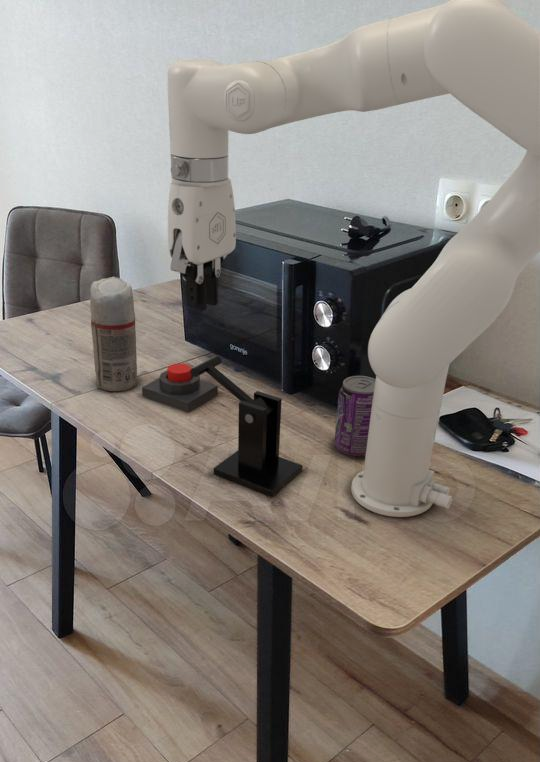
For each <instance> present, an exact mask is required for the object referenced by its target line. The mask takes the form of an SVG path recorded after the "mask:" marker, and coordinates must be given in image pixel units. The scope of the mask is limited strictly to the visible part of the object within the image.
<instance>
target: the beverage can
mask: <svg viewBox="0 0 540 762" xmlns="http://www.w3.org/2000/svg"><path fill="white" fill-rule="evenodd" d="M375 380H376V378H374V377H371V376H366V375H352V376H348V377H346V378H345V379H343V381H342V386H341V388H340V389H339V392H338V399H337V410H336V419H335V429H334V441H333V444H334V447H335V448H336V449H337V450H338V451H340V452H341V453H344V454H345V455H349V456H356V457H360V456H366V448H367V440H368V433H369V425H370V417H371V409H372V401H373V395H374V387H375Z"/></svg>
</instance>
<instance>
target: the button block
mask: <svg viewBox="0 0 540 762" xmlns="http://www.w3.org/2000/svg"><path fill="white" fill-rule="evenodd" d="M200 377H201V375H199V376H198V377H193V376H192V375H191V380H189V381H186V382H172V381H169V380H168V373H167V370H164V371H163V372H161V373H160V375H159V376H158V378H156V379H154V380H153V381H151V382H149V383H146V384H144V385H143V386H141V394H142V397H143V398H147V399H148V400H152V401H155V402H157V403H160V404H163V405H166V406H168V407H171V408H175V409H178V410H180V411H183V412H186V413H190V412H192V411H193V410H195V409H197V408H198V407H200V406H202V405H203V404H205V403H206V402H209V401H210V400H212V399H213V398H215V397H217V396H218V395H219V394H218V390H219V389H218V387H219V386H218V385H217V384H214V383H212V382H208V381H205V380H203V379H201V378H200Z"/></svg>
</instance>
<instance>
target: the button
mask: <svg viewBox="0 0 540 762" xmlns="http://www.w3.org/2000/svg"><path fill="white" fill-rule="evenodd" d="M191 369H192V367H191V365H189V364H187V363H173V364H170V365H168V367H167V369H166V371H167V373H168V380H169V381H172V382H186V381H189V380H191Z"/></svg>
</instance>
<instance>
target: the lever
mask: <svg viewBox="0 0 540 762" xmlns="http://www.w3.org/2000/svg"><path fill="white" fill-rule="evenodd" d="M222 363H223V361H222V358H221V356H220V355H214V356H213V357H210V358H208V359H207V360H205V361H203V362H201V363H199V364H198V365H196V366H193V367H191V375H192V376H193V377H198V376H199V375H200V376H201V375H203V374H205V373H207V374H208V375H209V376H210V377H211V378H213V379H214V380H215V381H216V382H217V383H219V384H220V385H221V386H222V387H223V388H224V389H225V390H227V391H228V392H229V393H230V394H231V395H233V396H234V397H235V398H236V399H237V400H239V401H240V402H241V401H246V402H249V403H252V404H255V405H258V406H261V407H264V408H267V420H268V419H269V417H270V415H271V413H272V412H273V410H274V409H273V408H272V407H271V406H270V405H269V404H267V403H266V402H265V401H264V400H263V399H261V398H259V399H257V400H255V401H254V398H252V397H251V396H249V395H248V394H247V393H246V392H245V391H244V390H242V389H241V388H240V387H239V386H238V385H237V384H236V383H234V382H233V381H232V380H231V379H230V378H228V377H227V376H226V375H225V374H224V373H223V372H221V371H220V370H219V369H218V368H216V367H217V366H219V365H221V364H222Z"/></svg>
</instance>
